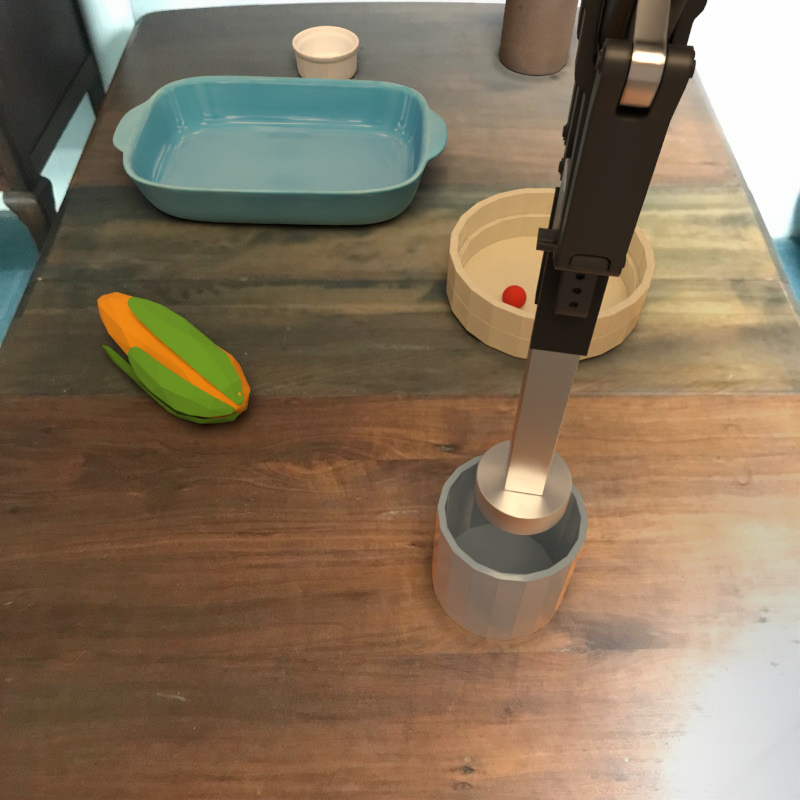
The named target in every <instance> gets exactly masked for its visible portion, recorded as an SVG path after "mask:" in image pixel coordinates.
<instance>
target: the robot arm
mask: <svg viewBox="0 0 800 800" xmlns="http://www.w3.org/2000/svg"><path fill="white" fill-rule="evenodd" d="M707 4H708V0H580V6H579V9H578V11H579V12H578V18H577V28H576V39H577V41H578V42H577V49H576V53H575V59H574V73H573V74H574V77H573V78H574V83H573V89H572V92H571V93H572V94H571V100H570V104H569V110H568V115H567V122H566V123H565V125H563V127H562V133H561V138H562V141H563V146H565V147H564V152H563V157H561V160H559V161H558V167H557V173H559V176H560V177H559V181H560V182H561V181H562V176H563V171H564V166H565V161H566V159H567V158H571V161H570V166H569V171H568V176H567V182H566V187H565V192H564V197H563V202H562V208H561V213H560V218H559V223H558V228H557V229H556V230H555V229H552V227H553V222H554V217H555V212H556V207H557V201H558V196H559V191H560V186H555V188H554V189H555V194H554V199H553V205H552V210H551V215H550V220H549V226H548V229H546V228H539V230H538V236H537V244H536V250H539V251H544V252H543V257H542V262H541V268H540V273H539V278H538V283H537V289H536V294H535V303H534V304H538V305H537V310H536V315H535V320H534V325H533V330H532V335H531V343H530V349H536V350H544V351H551V352H559V353H566V354H573V355H581V356H587V354H588V350H589V347H590V343H591V340H592V336H593V332H594V329H595V325H596V322H597V318H598V315H599V311H600V308H601V304H602V301H603V297H604V293H605V290H606V286H607V283H608V279H609V276H613V277H619V275H620V274H621V271H622V268H624V267H625V264H626V255H627V252H628V249H629V246H630V243H631V240H632V237H633V233H634V230H635V227H636V225H638V222H639V218H640V215H641V213H642V209H643V207H644V206H643V205H644V204H645V200H646V197H647V194H648V190H649V188H650V185H651V182H652V178H653V176H654V172H655V170H656V167H657V163H658V161H659V158H660V154H661V151H662V148H663V145H664V142H665V139H666V136H667V134H668V130H669V127H670V124H671V121H672V119H673V116H674V114H675V113H676V111H677V107H678V106H679V103H680V101H681V99H682V97H683V95H684V93H685V90H686V89H687V85H688V83H689V80H692V79H693V77H694V74H695V72H696V66H697V60H696V59H695V58H696V50H695V46H694V45H688V43H689V39H690V36H691V32H692V29H693V24H694V21H695V20H696V19H697V18H698V17H699V16H700V15H701V14H702V13H703V12H704V11H705V8H706V6H707ZM547 252H548V254H547ZM546 258H547V259H546ZM545 263H546V264H545ZM544 268H545V269H544ZM543 273H544V274H543ZM542 278H543V279H542ZM541 283H542V284H541ZM540 288H541V289H540ZM539 293H540V295H539ZM538 298H539V300H538Z"/></svg>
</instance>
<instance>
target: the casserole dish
mask: <svg viewBox="0 0 800 800" xmlns="http://www.w3.org/2000/svg"><path fill="white" fill-rule="evenodd" d="M112 144H113V146H114V148H115V149H116V150H117V151H118V152H120V153H121V154H122V165H123V166H122V167H123V169H124V171H125V173H126V175H127V176H128V177H129V179H131V181H132V182H133V184H135V186H136V187H137V189H138V190H139V192H141V194H143V196H144V197H145V198H146V200H148V201H149V202H150V203H151V205H153V206H154V207H155V208H156V209H158V210H159V211H161V212H163V213H165V214H167V215H170V216H172V217H175V218H179V219H183V220H189V221H198V222H206V223H207V222H210V223H230V224H231V223H233V224H263V225H264V224H265V225H302V226H303V225H307V226H309V225H312V226H313V225H315V226H359V225H361V226H363V225H371V224H378V223H382V222H385V221H389V220H391V219H393V218H395V217H397V216H398V215H400V214H402V213H403V212H404V211H405V210H406V209H407V208H408V207H409V205H410V204H411V202H413V200H414V197H415V195H416V193H417V190H418V188H419V186H420V183H421V180H422V177H423V174H424V171H425V169H426V166H427V164H429V162H431V161H433V160H434V159H436V158H437V157H439V156H440V155H441V154H442V153H443V152H444V150H445V149H446V146H447V144H448V127H447V124H446V121H445V120H444V118H443V117H442V116H441V115H439V114H438V113H437V112H436V111H434V110H433V109H431V108H430V107H429V103H428V101H427V99H426V98H425V97H424V96H423V94H421V92H419V91H418V90H416V89H414V88H412V87H410V86H407V85H403V84H400V83H395V82H391V81H384V80H383V81H382V80H371V79H352V78H350V79H323V78H302V77H291V76H290V77H288V76H260V75H201V76H192V77H185V78H182V79H178V80H177V79H176V80H174V81H171V82H168V83H167V84H165V85H163V86H162V87H161V86H160V88H159V89H157V90H156V91H155V92H154V93H153V94H152V95H151V96H150V97H149V98H148V99H147V100H146V101H144V102H142V103H140V104H138V105H137V106H135V107H133V108H131V109H130V110H129V111H127V112H126V113H125V114H124V115H123V117H122V118H121V119H120V121H119V123H118V124H117V125H116V128H115V131H114V132H113V137H112Z"/></svg>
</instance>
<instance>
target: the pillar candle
mask: <svg viewBox="0 0 800 800" xmlns="http://www.w3.org/2000/svg"><path fill="white" fill-rule="evenodd" d="M578 5H579V0H505V3H504V11H503V18H502V27H501V35H500V45H499V49H498V58H499V61H500V63H502V65H504V66H505V67H506V68H507V69H509V70H510V71H513V72H516V73H519V74H522V75H523V74H524V75H529V76H544V75H552V74H556V73H557V72H560V71H561V70H562V68H564V66H566V64H567V62H568V60H569V54H570V49H571V43H572V37H573V33H574V28H575V23H576V17H577V11H578Z"/></svg>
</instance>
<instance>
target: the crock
mask: <svg viewBox="0 0 800 800" xmlns="http://www.w3.org/2000/svg"><path fill="white" fill-rule="evenodd" d="M483 455H484V454H479V455H478V456H477V455H476V456H474V457H473V458H471V459H470V460H468V461H466V462H465V463H463V464H461V465H459V466H458V467H456V468H455V470H454V471H453V472H452V473H451V475H450V476H449V478H447V480H446V481H445V482H444V484H443V485H442V488H441V491H440V496H439V499H438V503H437V506H436V507H437V508H436V517H435V518H436V519H435V527H434V528H435V529H434V537H433V538H434V539H433V549H432V550H433V551H432V560H431V579H432V586H433V592H434V595H435V596H436V599H437V601H438V603H439V605H440V606H441V608H442V610H443V612H444V613H445V614H446V615H447V616H448V617H449V618H450V619H451V620H452V621H453V622H454V623H455V624H457V625H458V626H459V627H460V628H461V629H463V630H465V631H467V632H469V633H471V634H473V635H476V636H478V637H481V638H484V639H488V640H489V639H490V640H495V641H512V640H518V639H521V638H524V637H527V636H531V635H533V634H535V633H536V632H537V631H540V630H541V629H542V628H543V627H544V626H545V625H547V624H548V623H550V621H551V620H552V618H553V617H554V616H555V614H556V612H557V611H558V609H559V607H560V606H561V604H562V601H563V599H564V596H565V594H566V591H567V589H568V587H569V584H570V581H571V579H572V576H573V574H574V571H575V568H576V566H577V563H578V561H579V559H580V556H581V553H582V551H583V549H584V545H585V543H586V541H587V540H586V539H587V532H588V524H589V516H588V512H587V509H586V505H585V502H584V497H583V495H582V494H581V493H580V491H579V490H578V488H577V487H576V485H575V484H574V483H573V486H572V492H571V495H570V498H569V501H568V504H567V508H566V511H565V513H564V515H563V517H562V518H561V519H560V521H559V522H558V523H557V524H556V525H554V526H553V527H552V528H550V529H548V530H546V531H544V532H541V533H538V534H532V535H518V534H513V533H509V532H506V531H503V530H501V529H499V528H497V527H496V526H494V525H493V524H491V523H490V522H489V521H488V520H487V519H486V518H485V517H484V516H483V515H482V513H481V512H480V510H479V509H478V507H477V504H476V501H475V497H474V485H475V478H476V471H477V467H478V464H479V461H480V459H481V458H482V456H483Z"/></svg>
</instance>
